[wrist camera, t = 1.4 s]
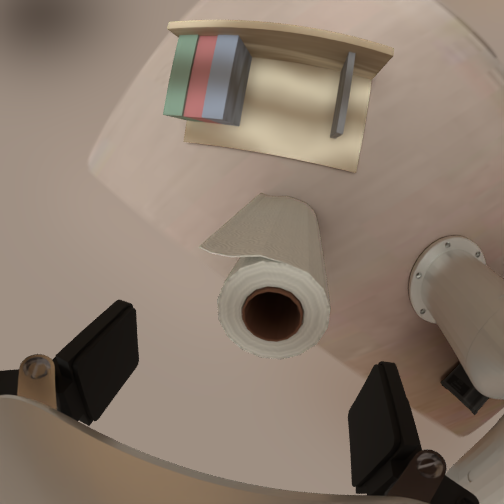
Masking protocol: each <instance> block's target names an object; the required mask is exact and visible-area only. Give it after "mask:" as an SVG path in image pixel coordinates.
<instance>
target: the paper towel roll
mask: <svg viewBox="0 0 504 504" xmlns="http://www.w3.org/2000/svg"><path fill="white" fill-rule="evenodd" d="M199 248H201V249H203V250H205V251H207V252H209V253H211V254H216V255H221V256H226V257H240V258H239V260H238V261H237V263H236V265H235V266H234V268H233V269H232V271H231V272H230V274H229V276H228V277H227V279H226V280H225V282H224V285H223V287H222V289H221V292H220V294H219V297H218V299H217V303H218V319H219V321H220V323H221V325H222V327H223V329H224V331H225V333H226V335H227V336H228V337H229V338H230V339H231V340H232V341H233V342H234V343H235V344H236V345H238V346H239V347H240V348H241V349H242V350H244V351H247V352H249V353H251V354H254V355H256V356H258V357H261V358H271V359H284V358H289V357H293V356H297V355H301V354H302V353H304V352H305V351H307V350H308V349H310V348H312V347H313V346H315V345H316V344H317V343H318V342H319V340H320V339H321V337H322V336H323V334H324V333H325V331H326V330H327V328H328V323H329V316H330V309H331V307H330V299H329V292H328V284H327V277H326V270H325V263H324V257H323V250H322V244H321V238H320V232H319V226H318V220H317V218H316V215H315V212H314V210H313V209H312V208H311V207H310V206H309V205H308V204H307V203H305V202H302V201H300V200H297V199H294V198H291V197H289V196H278V197H273V196H267V195H264V194H262V193H260V194H259V195H258V196H257V197H256V198H255V199H253V200H252V201H251V202H250V203H249V204H247V205H246V206H245V207H244V208H243V209H242V210H241V211H239V212H238V213H237V214H236V215H235V216H234V217H232V218H231V219H230V220H229V221H228V222H227V223H226V224H224V225H223V226H222V227H221V228H220V229H219V230H218V231H216V232H215V233H214V234H213V235H212V236H211V237H210V238H209V239H207V240H206V241H205V242H204V243H203V244H202V245H201V246H200V247H199Z"/></svg>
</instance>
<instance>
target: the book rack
mask: <svg viewBox="0 0 504 504" xmlns="http://www.w3.org/2000/svg"><path fill="white" fill-rule="evenodd" d="M167 29H168V30H169V31H171V32H172V33H173V34H175V35H176V36H177V37H178V38H179V39H178V43H177V47H176V52H175V56H174V60H173V65H172V70H171V74H170V79H169V84H168V90H167V95H166V101H165V106H164V112H163V115H167V116H171V117H175V118H180V119H184V120H187V123H186V129H185V136H184V142H189V143H198V144H206V145H214V146H221V147H228V148H235V149H241V150H248V151H254V152H260V153H265V154H271V155H276V156H282V157H287V158H292V159H297V160H302V161H306V162H311V163H316V164H320V165H325V166H329V167H333V168H337V169H341V170H345V171H349V172H353V173H356V169H357V164H358V160H359V154H360V149H361V144H362V139H363V133H364V127H365V121H366V115H367V109H368V103H369V96H370V89H371V82H372V79H373V78H374V77H375V76H376V75H377V73H378V72H379V71H380V70H381V69H382V68H383V67H384V66H385V65H386V63H387V62H388V61H389V60H390V59H391V58H392V57H393V53H394V48H392V47H388V46H385V45H382V44H379V43H375V42H372V41H368V40H365V39H361V38H357V37H353V36H349V35H345V34H340V33H336V32H331V31H326V30H321V29H315V28H309V27H303V26H296V25H289V24H281V23H271V22H260V21H243V20H191V21H176V22H169V24H168V28H167Z"/></svg>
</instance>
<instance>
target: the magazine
mask: <svg viewBox="0 0 504 504" xmlns="http://www.w3.org/2000/svg"><path fill="white" fill-rule="evenodd" d="M441 384H442V386H444V387H445V388H446V389H448V390H449V391H450V392H451V393H452V394H453V395H455V396H456V397H457V398H458V399H459V400H460V401H461V402H462V403H463V404H464V405H465V406H466V407H468V408H469V409H470V410H471V411H472V413H473V414H474V415H476V413H477V411H478V410H479V409H480V408H481V407H482V406H483V404H484V403H485V402H486V401H487V400H488V399H489V397H487V396H484V395H483V394H481V393H480V392H479V391H478V390H477V389H476V388H475V387H474V385H473V384H472V382H471V380H470V379H469V377H468V375H467V373H466V372H465V370H464V368H463V366H462V364H461V363H460V364H459V365H458V366H457V367H456V368H455V369H454V370H453V371H452V372H451V373H450V374H449V375H448V376H447V377H446V378H445V379H444V380H442V381H441Z"/></svg>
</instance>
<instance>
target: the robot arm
mask: <svg viewBox="0 0 504 504" xmlns="http://www.w3.org/2000/svg"><path fill="white" fill-rule="evenodd" d="M417 273H418V274H417ZM408 291H409V298H410V301H411V304H412V306H413V308H414V310H415V311H416V313H417V314H418V315H419V316H420V317H421V318H422V319H424V320H425V321H428V322H430V323H435V324H438V326H439V328H440V329H441V331H442V332H443V334H444V336H445V337H446V339H447V341H448V342H449V344H450V346H451V347H452V349H453V351H454V352H455V354H456V356H457V357H458V359H459V361H460V363H461V364H462V366H463V368H464V370H465V372H466V373H467V375H468V377H469V379H470V380H471V382H472V384H473V385H474V387H475V388H476V389H477V390H478V391H479V392H480V393H481V394H483V395H484V396H487V397H489V398H493V399H504V279H503V278H501V277H500V276H499V275H498V274H496V273H495V272H494V271H493V270H491V269H490V268H489V267H487V266H486V262H485V257H484V255H483V253H482V251H481V249H480V248H479V247H478V245H476V244H475V243H474V242H473V241H471V240H470V239H468V238H465V237H462V236H454V235H453V236H447V237H444V238H441V239H439V240H437V241H436V242H434V243H432V244H431V245H430V246H429V247H428V248H427V249H425V250H424V252H423V253H422V254H421V255H420V257H419V258H418V260H417V261H416V263H415V265H414V267H413V270H412V272H411V275H410V280H409V290H408ZM138 362H139V354H138V340H137V322H136V310H135V309H134V308H133V305H132V304H131V303H128V302H125V301H122V300H117V301H116V302H114V303H113V304H112V305H111V306H110V307H109V308H108V309H107V310H106V311H104V312H103V313H102V314H101V315H100V316H99V317H97V318H96V319H95V320H94V321H93V322H92V323H91V324H89V325H88V326H87V327H86V328H85V329H84V330H83V331H82V332H81V333H79V334H78V335H77V336H76V337H75V338H74V339H73V340H72V341H71V342H70V343H68V344H67V345H66V346H65V347H64V348H63V349H62V350H61V351H60V352H59V353H58V354H57V355H56V357H55V358H54V359H53V360H52V359H51V358H49V357H48V356H45V355H42V354H35V355H31V356H28V357H27V358H25V359H24V360H23V361H22V363H21V364H20V368H19V369H18V370H6V371H0V504H504V415H503V416H502V417H501V418H500V419H499V421H498V422H497V423H496V424H495V425H494V426H493V428H491V430H490V431H489V432H488V433H487V434H486V435H485V436H484V437H483V438H482V439H480V440H479V441H478V442H477V443H476V444H475V445H474V446H473V447H472V448H471V449H470V450H469V451H468V452H467V453H466V454H464V456H462V457H461V458H460V459H459V460H458V461H457V462H456V463H455V464H454V465H453V466H452V467H451V468H450V469H449V470H448V472H447V473H446V462H445V460H444V458H443V457H442V456H441V455H440V454H439V453H438V452H435V451H433V450H422V448H421V445H420V440H419V436H418V433H417V429H416V425H415V422H414V418H413V415H412V411H411V408H410V404H409V401H408V399H407V398H406V395H405V391H404V388H403V385H402V382H401V379H400V376H399V373H398V370H397V367H396V364H395V363H391V362H383V361H381V362H380V363H379V364H378V365H377V364H376V365H374V367H373V369H372V370H371V372H370V374H369V376H368V378H367V380H366V382H365V384H364V385H363V387H362V389H361V391H360V393H359V394H358V396H357V398H356V400H355V401H354V403H353V405H352V406H351V408H350V410H349V414H348V424H349V438H350V453H351V474H352V486H353V487H356V493H357V494H360V493H361V494H365V493H366V494H367V495H334V494H320V493H319V494H318V493H307V492H298V491H289V490H282V489H275V488H269V487H263V486H257V485H252V484H247V483H242V482H237V481H233V480H228V479H224V478H220V477H216V476H213V475H209V474H205V473H202V472H198V471H195V470H192V469H189V468H185V467H182V466H179V465H176V464H173V463H170V462H168V461H165V460H162V459H159V458H156V457H154V456H151V455H149V454H146V453H144V452H141V451H139V450H136V449H134V448H132V447H129V446H127V445H125V444H122V443H120V442H118V441H116V440H114V439H112V438H110V437H108V436H105V435H103V434H101V433H99V432H97V431H95V430H93V429H91V428H89V427H87V426H85V425H83V424H82V423H80V422H78V421H79V420H80V421H81V422H83V423H85V424H87V425H88V426H89V425H90V424H91V423H92V422H93V420H94V421H97V420H98V419H99V418H100V416H101V415H102V413H103V412H104V411H105V409H106V407H108V405H109V404H110V402H111V401H112V400H113V398H114V397H115V395H116V394H117V393H118V391H119V390H120V389H121V387H122V386H123V385H124V383H125V382H126V381H127V379H128V378H129V377H130V375H131V374H132V373H133V371H134V370H135V368H136V367H137V365H138ZM445 473H446V474H445Z"/></svg>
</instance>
